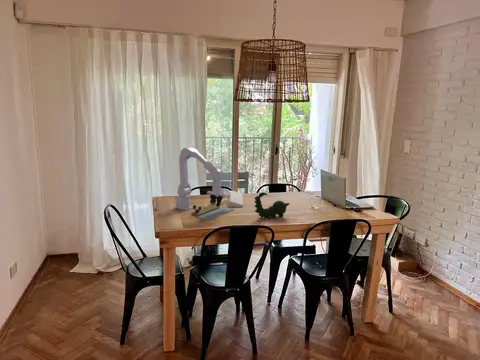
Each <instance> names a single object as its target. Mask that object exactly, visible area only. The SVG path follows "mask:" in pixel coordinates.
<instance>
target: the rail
mask: <svg viewBox="0 0 480 360" xmlns="http://www.w3.org/2000/svg"><path fill="white" fill-rule="evenodd" d="M228 204H229V198H227V197H225V198H223V199H222V201H221V203H220V206H219V208H221V207H224V206H225V205H228ZM215 208H217V202H214V203H208V204H206V205H203V206H202V209H203V211H206V212H207V211H209V210H212V209H215Z"/></svg>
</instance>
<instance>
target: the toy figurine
mask: <svg viewBox="0 0 480 360" xmlns="http://www.w3.org/2000/svg"><path fill="white" fill-rule="evenodd" d="M264 196H268V194H267V193H266V192H263V191H261V192H260V193H259V194H258V195H256V196H255V197H254V204H255V205H254V208H256V209H254V212H255V213H256V214H258V217H260V218H261V219H263V218H264V217H265V218H266V219H268V220H269V219H270V217H272V218H274V219H275V218H276V217H277V216H278V217H281V218H283V217H284V214H286V211H287V207H288V206H289V205H290V202H284V201H282V200H276V201H275V202H273V204H272V205H270V206H268V207H267V208H264V207H263V205H262V200H261V198H262V197H264Z"/></svg>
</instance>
